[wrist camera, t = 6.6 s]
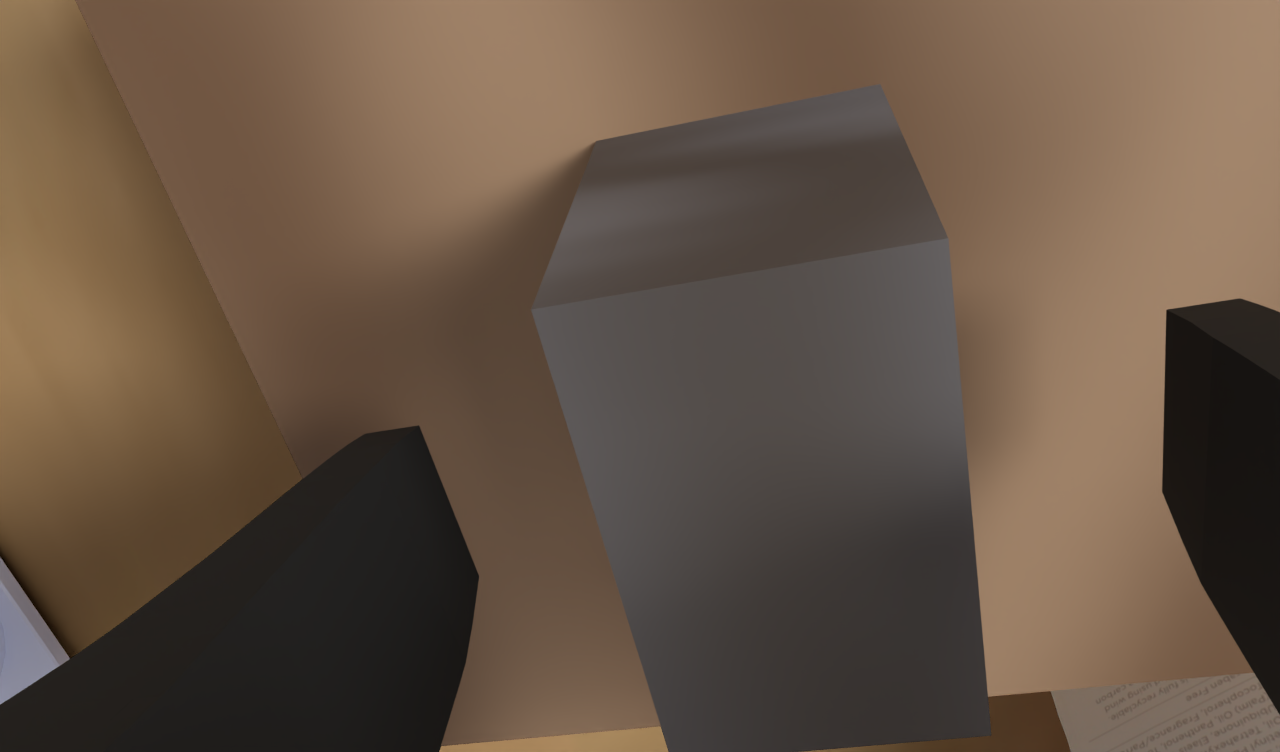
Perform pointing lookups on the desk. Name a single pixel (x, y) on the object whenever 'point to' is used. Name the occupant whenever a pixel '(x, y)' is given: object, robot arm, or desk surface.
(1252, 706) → the skincare box
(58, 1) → the desk surface
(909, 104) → the walnut lid
